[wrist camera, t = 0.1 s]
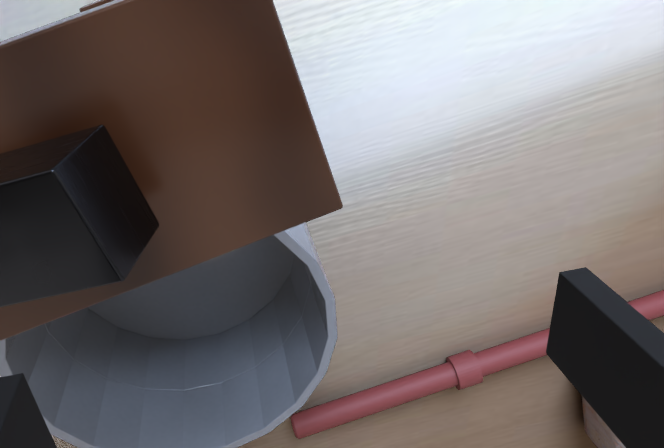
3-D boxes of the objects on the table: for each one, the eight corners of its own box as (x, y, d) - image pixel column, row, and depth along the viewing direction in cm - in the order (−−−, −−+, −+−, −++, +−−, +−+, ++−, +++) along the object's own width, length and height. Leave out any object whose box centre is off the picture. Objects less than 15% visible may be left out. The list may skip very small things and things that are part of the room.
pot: (10, 144, 34) (-70, 231, 24) (290, 109, 37) (326, 174, 27) (89, 358, 43) (54, 490, 33) (311, 317, 46) (344, 426, 36)
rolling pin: (295, 425, 52) (300, 452, 49) (286, 403, 50) (291, 429, 47) (712, 284, 56) (739, 302, 53) (716, 260, 54) (744, 276, 51)
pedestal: (222, -55, 32) (256, -48, 14) (270, 73, 36) (344, 208, 18) (30, 15, 31) (-197, 116, 13) (100, 137, 36) (-2, 342, 17)
